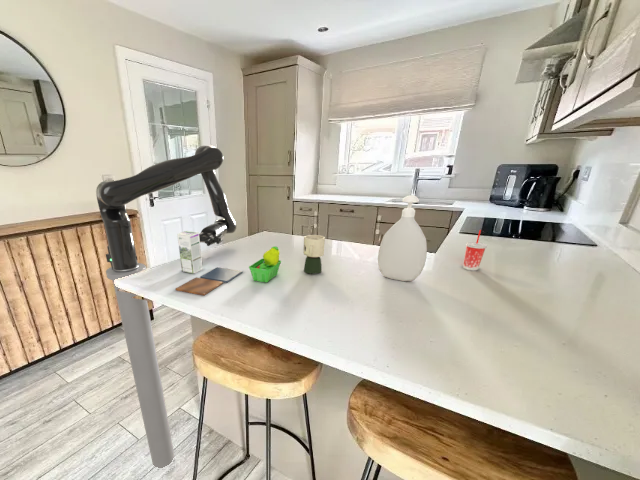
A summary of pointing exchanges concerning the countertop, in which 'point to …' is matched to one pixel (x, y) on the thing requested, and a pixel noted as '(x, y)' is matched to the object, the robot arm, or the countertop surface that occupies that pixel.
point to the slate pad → (221, 274)
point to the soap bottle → (403, 247)
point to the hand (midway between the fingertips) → (197, 242)
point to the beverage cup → (474, 254)
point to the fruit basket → (266, 266)
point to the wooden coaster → (199, 286)
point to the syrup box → (190, 251)
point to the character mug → (313, 253)
